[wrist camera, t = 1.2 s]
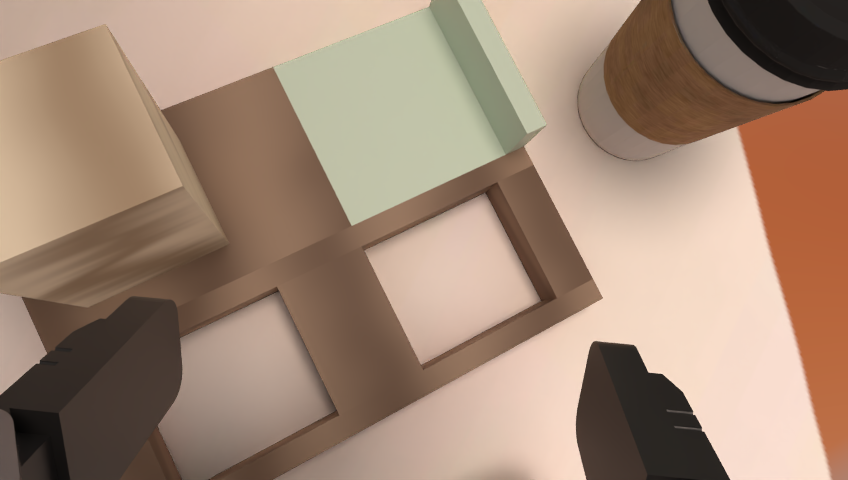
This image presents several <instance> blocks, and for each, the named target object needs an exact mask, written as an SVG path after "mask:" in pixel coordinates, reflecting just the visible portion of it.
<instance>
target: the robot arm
mask: <svg viewBox="0 0 848 480" xmlns="http://www.w3.org/2000/svg"><path fill="white" fill-rule="evenodd" d="M181 380H182V358H181V346H180V334H179V321H178V311H177V306H176V304H175V302H174V301H173V300H171V299H160V298H150V297H140V296H131V297H129V298H128V299H127V300H126V301H125V302H124V303H123V304H121V305H120V306H119V307H118V308H117V309H116V310H115V311H114V312H113V313H112V314H111V315H109V316H108V317H107V318H106V319H102V318H100V319H98V320H96V321H93V322H91V323H89V324H87V325H85V326H83V327H81V328H79V329H77V330H75V331H73V332H72V333H71V334H70V335H69V336H67V337H66V338H65V339H64V340H63V341H62V342H61V343H59V344H58V345H57V346H56V347H55V351H53V350H51V351H50V352H49V353H48V354H47V355H46V356H45V357H43V358H42V359H41V360H40V364H35V365H34V366H33V367H32V368H31V369H30V370H29V371H27V372H26V373H25V374H24V375H23V376H22V377H21V378H20V379H18V380H17V381H16V382H15V383H14V384H13V385H12V386H10V387H9V388H8V389H7V390H6V391H5V392H4V393H2V394H1V395H0V480H119V479H120V478H121V477H122V475H123V474H124V472H125V471H126V469H127V468H128V467H129V465H130V464H131V462H132V461H133V459H134V458H135V457H136V455H137V454H138V452H139V451H140V449H141V448H142V447H143V445H144V444H145V442H146V441H147V440H148V438H149V437H150V435H151V434H152V432H153V431H154V430H155V428H156V427H157V425H158V424H159V422H160V421H161V420H162V418H163V417H164V415H165V414H166V412H167V411H168V410H169V408H170V407H171V405H172V404H173V402H174V401H175V399H176V397H177V395H178V392H179V389H180V385H181ZM576 437H577V443H578V447H579V451H580V455H581V459H582V463H583V467H584V471H585V475H586V479H587V480H730V478H729V477H728V475H727V473H726V471H725V469H724V467H723V466H722V464H721V462H720V460H719V458H718V456H717V455H716V453H715V451H714V449H713V447H712V445H711V443H710V442H709V440H708V438H707V436H706V434H705V432H702V427H701V425H700V423H699V421H698V420H697V418H696V416H695V415H693V410H692V408H691V407H690V405H689V403H688V401H687V399H686V397H685V396H684V394H683V392H682V391H681V390H680V389H679V388H677V387H676V386H675V385H674V384H673V383H672V382H671V381H669V380H668V379H667V378H666V377H665V376H664V375H663V374H656V373H648V371H647V369H646V367H645V365H644V363H643V360H642V358H641V356H640V354H639V352H638V350H637V348H636V347H635V346H634V345H629V344H618V343H608V342H598V341H594V342H593V343H592V345H591V347H590V350H589V354H588V359H587V364H586V369H585V374H584V379H583V384H582V389H581V393H580V398H579V403H578V408H577V416H576Z"/></svg>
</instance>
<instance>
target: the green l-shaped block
mask: <svg viewBox="0 0 848 480" xmlns="http://www.w3.org/2000/svg"><path fill="white" fill-rule="evenodd" d="M273 68H274V70H275V72H276V74H277V76H278V78H279V80H280V82H281V84H282V86H283V88H284V90H285V92H286V94H287V96H288V98H289V100H290V102H291V104H292V106H293V108H294V110H295V112H296V114H297V116H298V118H299V121H300V122H301V124H302V127H303V129H304V131H305V133H306V135H307V137H308V139H309V141H310V143H311V145H312V147H313V149H314V151H315V153H316V155H317V157H318V159H319V161H320V163H321V165H322V167H323V169H324V171H325V173H326V175H327V177H328V179H329V181H330V183H331V185H332V187H333V189H334V191H335V193H336V195H337V197H338V199H339V201H340V203H341V205H342V207H343V209H344V211H345V213H346V215H347V217H348V219H349V221H350V223H351V225H352V226H353V225H355V224H357V223H359V222H362V221H364V220H366V219H368V218H370V217H372V216H374V215H377V214H379V213H381V212H383V211H385V210H387V209H390V208H392V207H394V206H396V205H398V204H400V203H402V202H405V201H407V200H409V199H411V198H413V197H416V196H418V195H420V194H422V193H424V192H426V191H428V190H431V189H433V188H435V187H437V186H439V185H441V184H443V183H446V182H448V181H450V180H452V179H454V178H456V177H459V176H461V175H463V174H465V173H467V172H469V171H472V170H474V169H476V168H478V167H480V166H482V165H484V164H487V163H489V162H491V161H493V160H495V159H497V158H500V157H502V156H504V155H506V154H508V153H511V152H513V151H515V150H517V149H519V148H521V147H523V146H525V145H526V144H527V143H528V142H529V141H530V140H531V139H532V138H533V137H534V136H535V135H537V134H538V133H539V132H540V131H541V130H542V129H543V128H544V127H545V126H546V125H547V124H546V122H545V120H544V118H543V116H542V114H541V112H540V110H539V109H538V107H537V105H536V103H535V101H534V99H533V97H532V95H531V93H530V91H529V90H528V88H527V86H526V84H525V82H524V80H523V78H522V76H521V74H520V72H519V70H518V69H517V67H516V65H515V63H514V61H513V59H512V57H511V55H510V53H509V51H508V50H507V48H506V46H505V44H504V42H503V40H502V38H501V36H500V34H499V32H498V31H497V29H496V27H495V25H494V23H493V21H492V19H491V17H490V15H489V13H488V11H487V10H486V8H485V6H484V4H483V2H482V0H431V3H430V6H429V7H428V8H425V9H422V10H420V11H417V12H415V13H412V14H409V15H407V16H404V17H402V18H399V19H397V20H394V21H391V22H389V23H386V24H384V25H381V26H378V27H376V28H373V29H371V30H368V31H365V32H363V33H360V34H358V35H355V36H353V37H350V38H347V39H345V40H342V41H340V42H337V43H334V44H332V45H329V46H327V47H324V48H322V49H319V50H316V51H314V52H311V53H309V54H306V55H303V56H301V57H298V58H296V59H293V60H291V61H288V62H285V63H283V64H280V65H278V66H275V67H273Z"/></svg>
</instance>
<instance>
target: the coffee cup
mask: <svg viewBox="0 0 848 480" xmlns="http://www.w3.org/2000/svg"><path fill="white" fill-rule="evenodd" d="M843 89H848V0H641V1H640V2H639V4H638V5H637V7H636V8H635V9H634V11H633V12H632V13H631V15H630V16H629V17H628V19H627V20H626V21H625V23H624V24H623V25H622V27H621V28H620V29H619V31H618V32H617V33H616V35H615V36H614V38H613V39H612V40H611V42H610V44H609V45H608V46H607V47H606V49H605V50H604V51H603V52H602V53H601V55H600V56H599V57H598V58H597V60H596V61H595V62H594V64H593V65H592V66H591V67H590V69H589V70H588V72H587V73H586V74H585V76H584V78H583V80H582V82H581V85H580V89H579V93H578V108H579V114H580V118H581V120H582V123H583V125H584V128H585V129H586V131H587V133H588V134H589V136H590V137H591V138H592V139H593V140H594V142H595V143H596V144H597V145H599V146H600V147H601V148H602V149H604V150H605V151H606V152H608V153H610V154H612V155H614V156H616V157H619V158H623V159H626V160H646V159H649V158H652V157H655V156H658V155H661V154H663V153H666V152H668V151H671V150H673V149H676V148H678V147H681V146H683V145H686V144H688V143H692V142H695V141H698V140H701V139H703V138H706V137H709V136H712V135H714V134H717V133H720V132H723V131H725V130H728V129H731V128H734V127H736V126H739V125H742V124H745V123H747V122H750V121H753V120H756V119H759V118H761V117H764V116H767V115H769V114H772V113H775V112H778V111H780V110H783V109H786V108H789V107H791V106H794V105H797V104H800V103H803V102H805V101H808V100H811V99H812V98H814V97H816V96H817V95H819V94H821V93H822V92H824V91H833V90H843Z"/></svg>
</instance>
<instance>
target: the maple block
mask: <svg viewBox="0 0 848 480" xmlns="http://www.w3.org/2000/svg"><path fill="white" fill-rule="evenodd" d="M228 244H229V242H228V240H227V238H226V236H225V234H224V232H223V230H222V228H221V226H220V224H219V221H218V219H217V217H216V215H215V213H214V211H213V209H212V207H211V205H210V203H209V201H208V199H207V196H206V194H205V192H204V190H203V188H202V186H201V184H200V182H199V180H198V178H197V176H196V174H195V171H194V169H193V167H192V165H191V163H190V161H189V159H188V157H187V155H186V153H185V151H184V149H183V146H182V144H181V142H180V140H179V139H178V137H177V135H176V134H175V132H174V131H173V129H172V128H171V126H170V124H169V123H168V121H167V120H166V118H165V117H164V115H163V113H162V112H161V110H160V109H159V107H158V106H157V104H156V102H155V101H154V99H153V98H152V96H151V95H150V93H149V91H148V90H147V88H146V87H145V85H144V84H143V82H142V80H141V79H140V77H139V76H138V74H137V73H136V71H135V70H134V68H133V66H132V65H131V63H130V62H129V60H128V59H127V57H126V55H125V54H124V52H123V51H122V49H121V48H120V46H119V44H118V43H117V41H116V40H115V38H114V37H113V35H112V33H111V32H110V30H109V29H108V27H107V26H106V24H104V25H101V26H99V27H96V28H93V29H90V30H87V31H84V32H81V33H78V34H75V35H73V36H70V37H67V38H64V39H61V40H58V41H55V42H52V43H50V44H47V45H44V46H41V47H38V48H35V49H32V50H29V51H26V52H24V53H21V54H18V55H15V56H12V57H9V58H6V59H3V60H1V61H0V293H3V294H9V295H15V296H21V297H27V298H33V299H39V300H45V301H51V302H57V303H63V304H69V305H75V306H81V307H87V308H88V307H90V306H92V305H95V304H97V303H99V302H101V301H103V300H106V299H108V298H110V297H112V296H115V295H117V294H119V293H121V292H123V291H126V290H128V289H130V288H132V287H135V286H137V285H139V284H141V283H144V282H146V281H148V280H150V279H152V278H155V277H157V276H159V275H161V274H164V273H166V272H168V271H170V270H173V269H175V268H177V267H179V266H181V265H184V264H186V263H188V262H190V261H193V260H195V259H197V258H199V257H202V256H204V255H206V254H208V253H210V252H213V251H215V250H217V249H219V248H222V247H224V246H226V245H228Z"/></svg>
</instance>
